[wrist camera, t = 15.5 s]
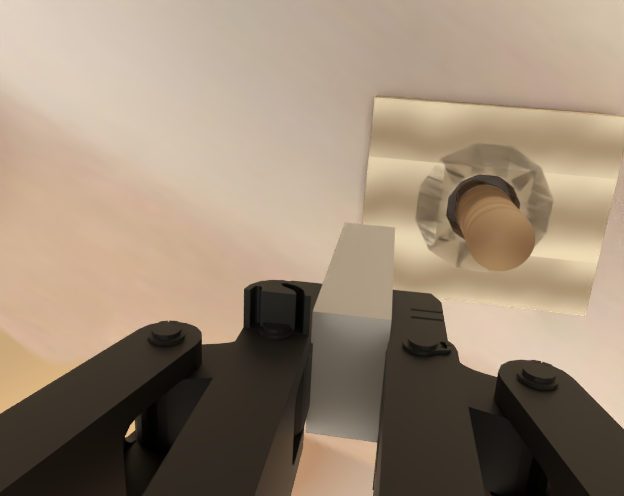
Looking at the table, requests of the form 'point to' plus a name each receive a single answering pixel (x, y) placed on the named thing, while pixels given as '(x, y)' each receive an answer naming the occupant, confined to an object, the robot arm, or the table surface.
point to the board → (524, 194)
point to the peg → (493, 226)
